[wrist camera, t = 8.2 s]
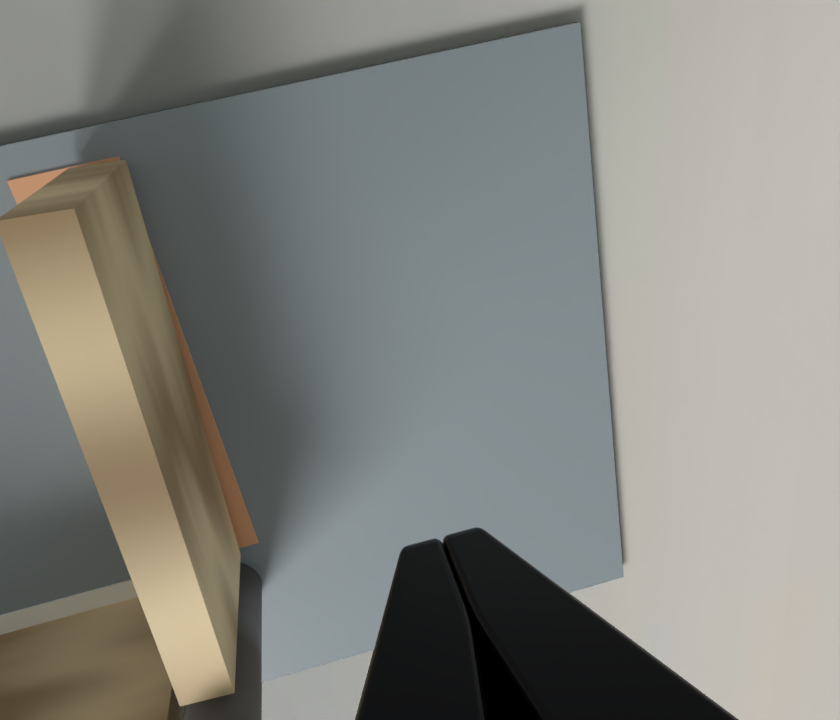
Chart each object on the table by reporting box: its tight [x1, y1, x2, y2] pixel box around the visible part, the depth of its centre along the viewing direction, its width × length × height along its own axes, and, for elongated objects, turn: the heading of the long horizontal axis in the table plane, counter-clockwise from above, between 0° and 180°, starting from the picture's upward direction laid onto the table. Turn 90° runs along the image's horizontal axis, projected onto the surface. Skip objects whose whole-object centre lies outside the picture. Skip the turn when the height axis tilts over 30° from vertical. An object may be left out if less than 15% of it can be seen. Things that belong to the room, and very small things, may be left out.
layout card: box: [0, 22, 623, 682], centre depth 19 cm, size 24×17×1 cm
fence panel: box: [0, 159, 241, 706], centre depth 16 cm, size 11×1×5 cm, turn 7°
